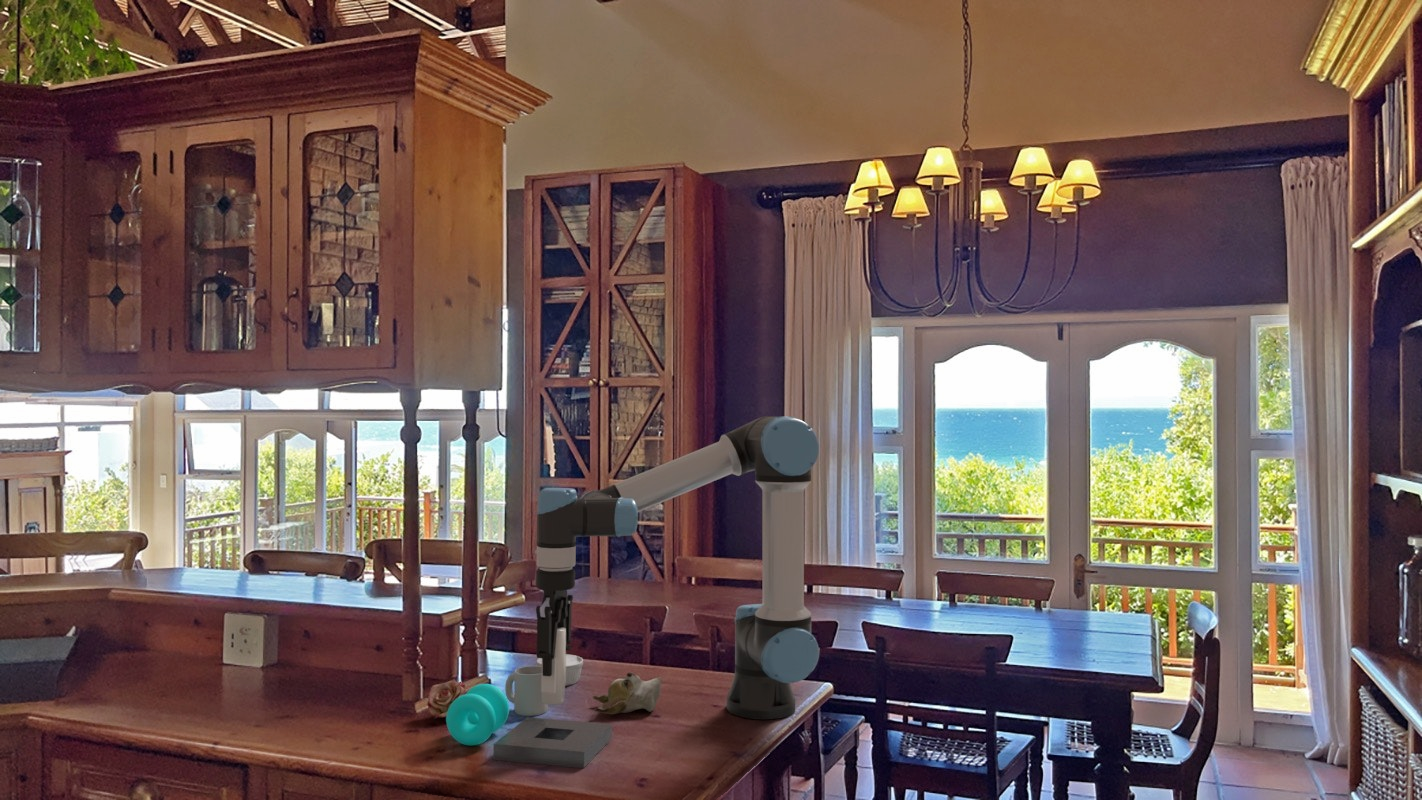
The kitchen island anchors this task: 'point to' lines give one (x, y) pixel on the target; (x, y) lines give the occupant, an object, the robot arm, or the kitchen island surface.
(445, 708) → the flower
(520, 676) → the cup
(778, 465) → the robot arm
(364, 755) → the kitchen island surface
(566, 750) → the block
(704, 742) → the kitchen island surface
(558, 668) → the white tapered capsule
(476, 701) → the turquoise yo-yo
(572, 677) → the ramekin
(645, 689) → the ceramic sculpture
